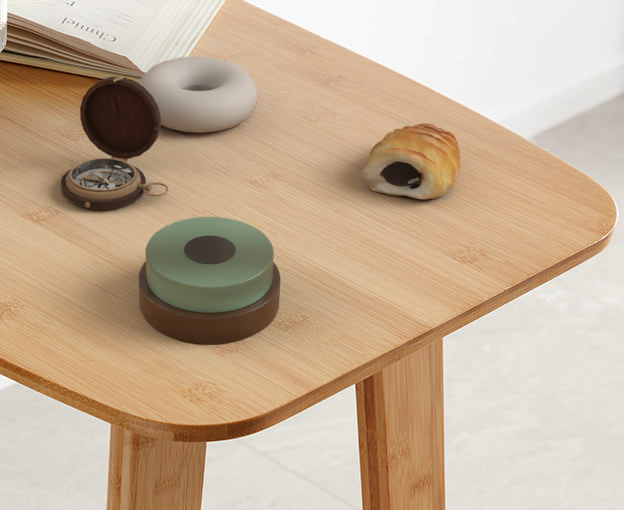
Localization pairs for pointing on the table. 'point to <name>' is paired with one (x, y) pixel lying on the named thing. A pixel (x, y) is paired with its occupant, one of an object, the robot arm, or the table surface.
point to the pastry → (414, 162)
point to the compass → (114, 145)
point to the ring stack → (209, 281)
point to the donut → (200, 93)
